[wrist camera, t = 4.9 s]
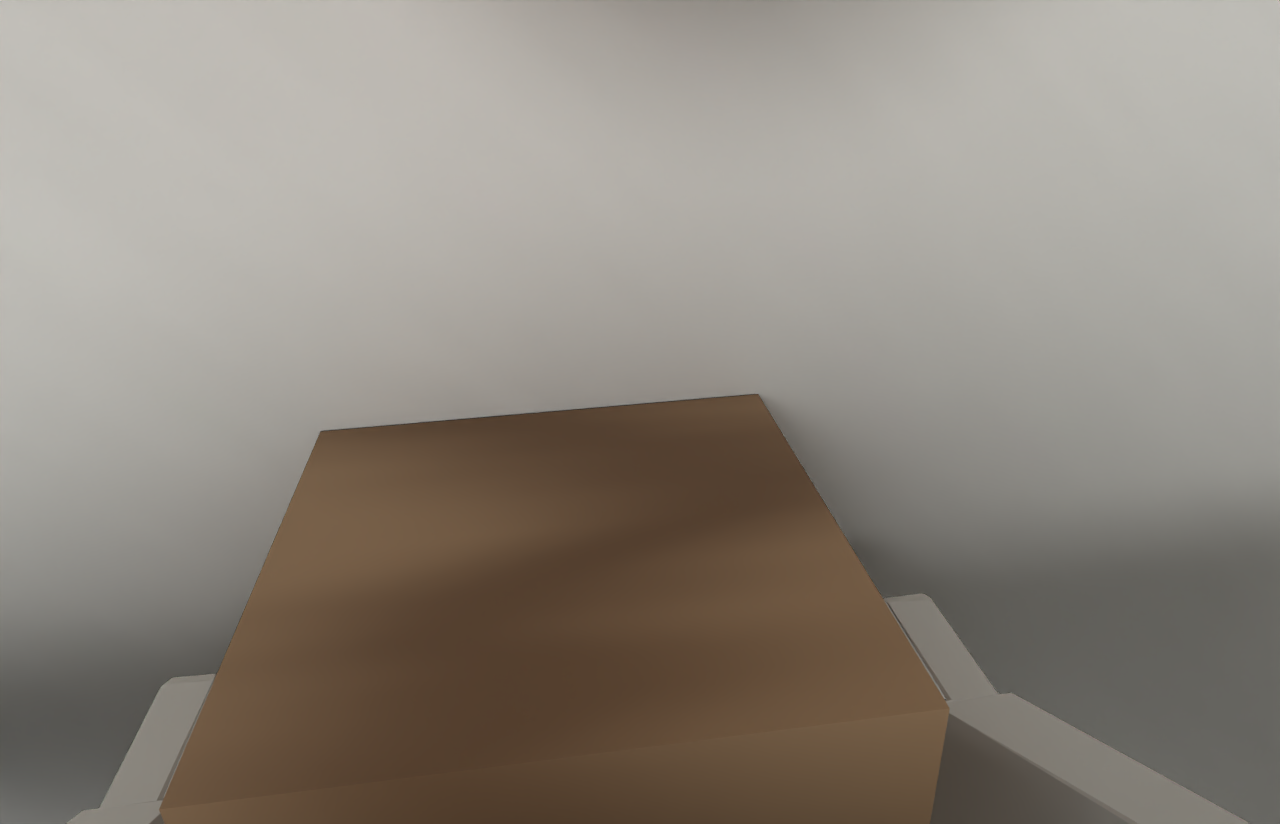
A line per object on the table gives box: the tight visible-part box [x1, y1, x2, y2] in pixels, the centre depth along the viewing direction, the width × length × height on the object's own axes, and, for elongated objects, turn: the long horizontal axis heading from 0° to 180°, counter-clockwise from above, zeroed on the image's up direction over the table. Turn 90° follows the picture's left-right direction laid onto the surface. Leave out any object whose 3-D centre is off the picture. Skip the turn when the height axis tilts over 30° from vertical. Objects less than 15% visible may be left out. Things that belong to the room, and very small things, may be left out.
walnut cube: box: [159, 394, 950, 824], centre depth 9 cm, size 5×5×5 cm
